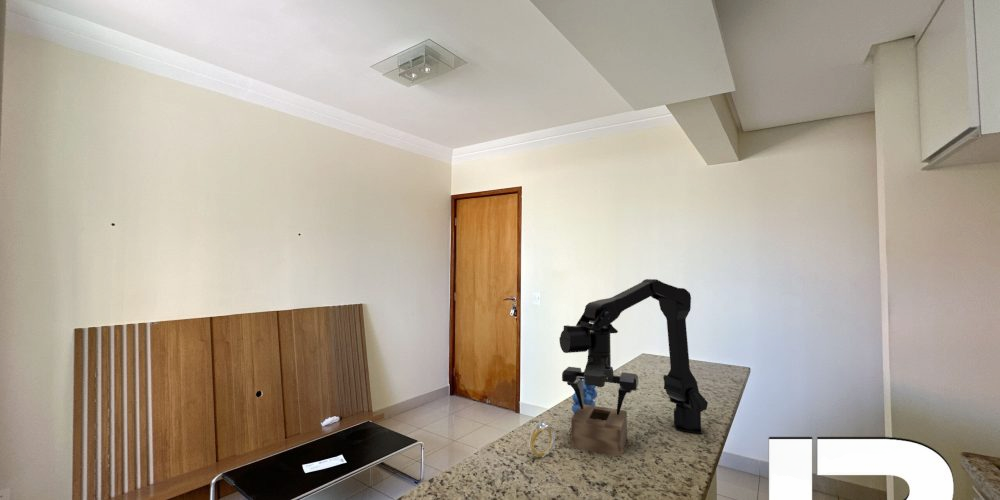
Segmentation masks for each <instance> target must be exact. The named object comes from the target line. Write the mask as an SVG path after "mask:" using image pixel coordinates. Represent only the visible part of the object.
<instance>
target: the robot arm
mask: <svg viewBox="0 0 1000 500" xmlns="http://www.w3.org/2000/svg"><path fill="white" fill-rule="evenodd" d="M691 296H692V295H691V293H690V291H688V290H687V289H686V288H685V287H684V288H682V287H677V286H674V285H671V284H668V283H665V282H662V281H661V280H659V279H654V278H652V279H651V278H648V279H647V278H646V279H644V280H642V281H641V282H639V283H638V284H635V285H633V286H631V287H629V288H627V289H626V290H623V291H621V292H620V293H618V294H615V295H613V296H611V297H608V298H607V297H606V298H602V299H597V300H595V301H594V300H593V301H590V302H588V303H587V304H586V305H585V306H584V307H585V308H584V312H583V313H582V315H581V317H580V318H579V320H578V321H577V323H576V325H564V326H563V330H562V331H561V333H560V337H558V338H559V347H560V348H561V351H562V352H563V353H564V354H571V353H584V352H587V361H586V365H585V368H584V371H582V369H581V367H576V366H567V368H565V369H564V370H562V373H561V381H562V382H564V383H566V384H567V386H570V387H571V388H572V389H573V390H574V393H576V396H577V398H578V401H579V404H580V407H581V409H583V407H584V396H583V379H584V381H585V385H587V386H590V385H592V386H596V387H597V388H604V387H605V385H606V383H611V384H617V385H618V384H619V388H618V389H617V391H618V396H617V404H616V409H617V415H619V413H620V410H622V405H623V404H624V403H623V402H624V400H625V397H626V395H627V393H628V394H630V393H632V391H637V389H638V386H639V376H638V375H637V373H633V372H632V373H631V372H621V374H620V375H614V367H613V366H612V365H611V364H612V362H611V361H612V359H611V352H612V351H611V334H617V333H619V330H617V329H616V328H615V327H614V326H613V324H612V323H613V322H615V321H616V320H617V319H619V317H620V315H621V313H623V312H624V311H625V310H627V309H629V308H631V307H633V306H635V305H637V304H639V303H641V302H642V301H645V300H647V299H648V298H650V297H651V299H654V300H656V301H657V302H658V304H659V308H660V311H661V312H662V314H663V315H664V317H665V319H666V329H667V338H668V339H667V340H668V341H667V342H668V352H669V364H670V369H669V371H668V374H663V377H662V378H663V382H664V383H663V385H664V386H663V390H665V393H666V395H668V397H669V401H670V403H673V404H675V407H674V408H673V425H674V426H675V430H676V431H680V432H687V433H692V434H699V435H700V434H701V435H702V434H703V430H702V414H701V413H703V412H704V411H706V410H707V409H708V408H707V407H708V402H709V401H707V400H706V398H705V397H704V396H703V395H702V394H701V393H700V390H699V386H698V381H697V379H696V378H695V376H694V375H693V373H692V371H691V369H690V367H691V366H690V357H689V345H688V343H689V342H688V332H687V321H686V320H687V317H688V315H689V313H690V312H691V303H692V297H691Z"/></svg>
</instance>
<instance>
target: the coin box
mask: <svg viewBox="0 0 1000 500" xmlns="http://www.w3.org/2000/svg"><path fill="white" fill-rule="evenodd" d="M627 412H628V411H627V410H625V409H621V410H620V413H619V415H617V408H610V407H606V406H605V407H604V406H597V405H595V406H592V405H585V404H584V407H583V409H581V407H579V409H578V410H577V412H576V413H575V414H574V413H573V416H572V417H571V419H570V420H571V422H570V427H571V428H570V431H571V433H570V434H571V435H570V438H571V444H570V445H571V448H574V449H578V450H584V451H588V452H589V451H590V452H594V453H600V454H605V455H610V456H615V457H620V458H621V457H622V455H623V452H624V449H625V446H626V442H627V438H628V413H627ZM597 419H602V420H597ZM604 420H606V421H604Z"/></svg>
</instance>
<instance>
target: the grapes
mask: <svg viewBox="0 0 1000 500" xmlns="http://www.w3.org/2000/svg"><path fill="white" fill-rule="evenodd" d="M596 387H597V386H592V385H590V386H587V385H585V381H584V379H583V396H584V404H585V405H592V406H596V403H595V399H597V397H598V392H597V390H596ZM571 397H572V401H573V402H574V403H573V404H572V406H571V410H572V413H573V415H574V414H575V413H576V412H577V410H578V409H579V407H580V404H579V401H578V398H577V396H576V393H575V392H574V393H573V395H572V396H571Z"/></svg>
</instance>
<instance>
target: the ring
mask: <svg viewBox="0 0 1000 500" xmlns="http://www.w3.org/2000/svg"><path fill="white" fill-rule="evenodd" d="M547 423H548V422H547V421H545V422H544V423H543V422H542V421H541V420H540V421H538V422H537V423H536V424H535V425H534V427H532V429H531V432H530V435H529V441H528V442H529V443H528V445H529V449H530V451H531V453H532V454H533V455H534V456H536V457H538V458H545V457H546V456H547V455H549V454H550V452H551V451H552V450H553V447H554V446H555V440H556V436H555V430H554V429H553V426H550V425H548V424H547ZM544 430H546V431H547V432H548V435H549V444H548V447H547V448H546V449H545V450H544V451H539V452H537V451H536V449H535V442H536V440H537V438H538V437H539V436H540V434H541V433H542V432H543V431H544Z"/></svg>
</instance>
